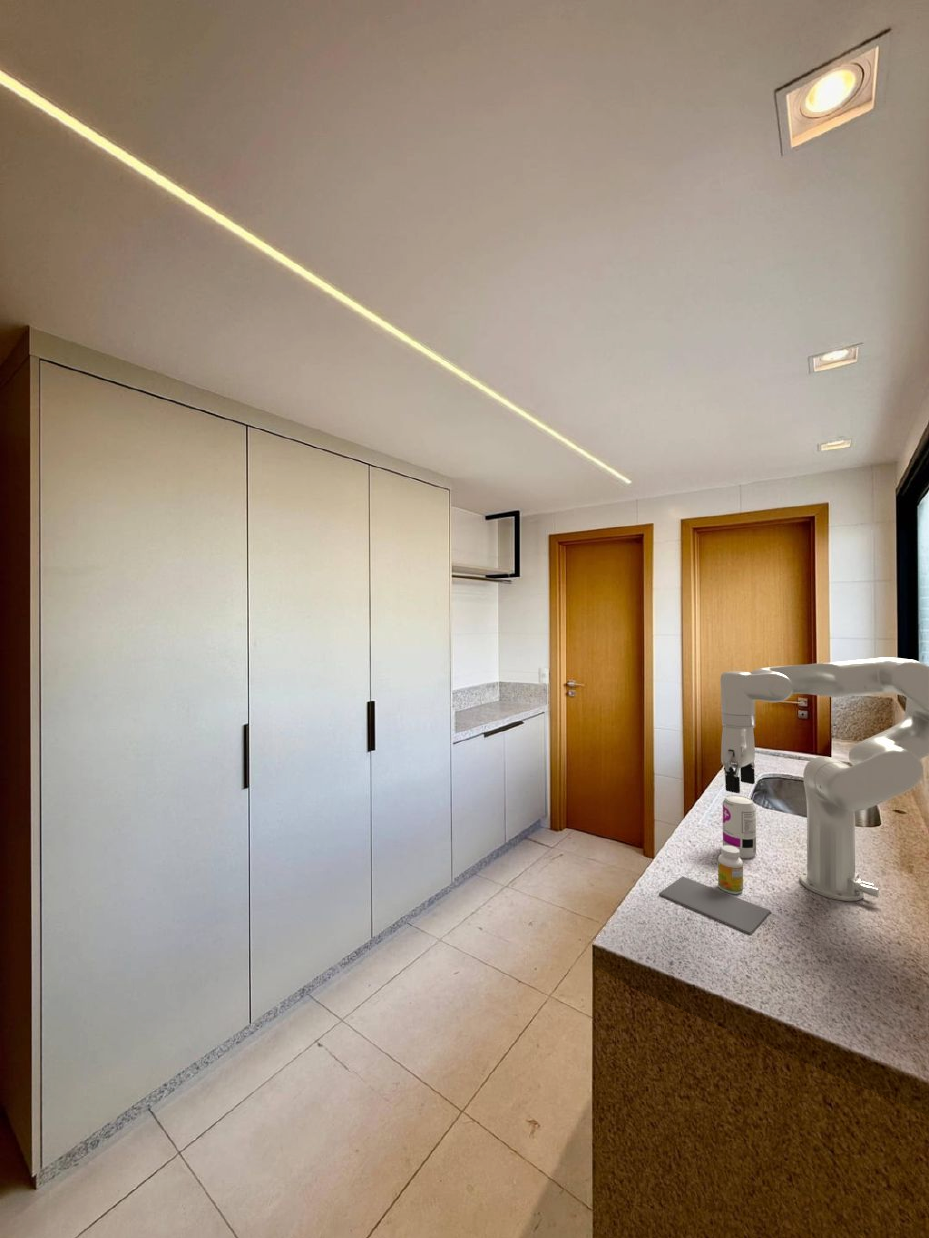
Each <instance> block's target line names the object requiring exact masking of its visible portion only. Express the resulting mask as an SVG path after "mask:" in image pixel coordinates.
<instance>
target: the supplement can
mask: <svg viewBox="0 0 929 1238" xmlns="http://www.w3.org/2000/svg"><path fill="white" fill-rule="evenodd" d="M725 845H728V846H733V847H736V848H738V849H739V850H740V857H739V858H740V859H752V858H753V857H754V856H756V855H757V807H756V805H755V803H754V801H753V799H751V798H750V797H747V796H743V795H736V794H732V795H731V794H729V795H726V796H725V797H724V799H723V801H722V846H725Z"/></svg>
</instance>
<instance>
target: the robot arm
mask: <svg viewBox="0 0 929 1238" xmlns="http://www.w3.org/2000/svg"><path fill="white" fill-rule="evenodd" d="M719 678H720V679H719V680H720V702H721V703H720V704H721V705H720V706H721V707H720V708H721V709H720V711H721V725H722V733H721V743H720V744H721V745H720V746H721V747H720V748H721V749H720V751H721V752H720V753H721V754H720V763H721V764H722V765H723V771H724V773H723V774H724V778H725V779H724V781H725V786H724V787H725V791H727V792H728V793H729V792H730V793H734V794H740V793H741V783H744V784H749V785H750V784H751V785H755V783H756V779H755V768H756V767H755V762H754V761H755V760H756V759H755V757H756V755H755V754H756V751H755V750H756V748H755V736H754V735H755V734H754V728H756V711H755V709H756V704H755V703H756V702H755V701H759V702H760V701H762V702H767V703H780V702H785V701H786V700H789V699H790V698H791V696H792V695H794V694H795V695H796V694H797V695H798V694H800V695H801V694H802V695H804V694H805V695H813V696H820V697H828V698H830V697H831V698H843V697H845V698H846V697H854V696H864V695H865V696H866V695H877V694H878V695H879V694H895V695H900V696H903V697H905V698H906V701H905V702H906V703H905V711H904V714H903V715H904V716H903V717H902V719H901V720H900V721H899V722H897V723H896V724H895V725H893V726H891V727H890V728H889V727H888V728H887V729H885V730H883V731H881V732H879V733H876V734H874V735H872V736H871V737H868V738H866V739H864V740H861V741H859V742H857V743H856V744H854V745H853V746H852V747H851V748H850V750H849V752H848V760H849V762H850V764H851V766H850V765H849V764H847V763H845V762H843V761H841V760H839V759H836V758H834V757H829V756H817V757H815V758H812V759H811V760H809V761H808V762H807V764H806V765H805V766H804V769H803V774H802V777H803V780H802V781H803V786H804V792H805V798H806V799H805V800H806V870H804V871H802V872H801V873H799V881H800V883H801V884H802V885H803V886H804V887H805V888H806V889H808V890H810V891H811V892H813V893H815V894H817V895H820V896H823V897H825V898H829V899H834V900H837V901H842V902H843V901H844V902H855V901H860V900H862V899H863V898H864V895H865V894H866V895H869V896H871V897H875V898H879V895H880V894H879V893H880V889H879V888H876V887H875V884H874V883H871V882H868V881H865V880H862V879H861V878H860V873H859V872H856V816H855V812H860V811H861V812H862V811H865V810H867V809H870V808H872V807H875V806H878V805H880V804H882V803H884V802H888V801H890V800H891V799H894V798H896V797H899V796H901V795H903V794H905V793H908V792H909V791H911V790H913V789H914V788H915V787H916V786H918V785H919V783H920V782H921V780H922V778H923V776H924V767H923V763H922V761H921V760H922V759H924V758H926V757H928V756H929V665H927V664H925V663H923V662H920V661H918V660H915V659H908V658H901V657H892V656H891V657H888V656H886V657H874V658H873V657H872V658H865V659H862V658H861V659H854V660H853V659H852V660H845V661H832V662H831V661H830V662H819V663H809V664H794V665H792V664H791V665H782V666H781V665H780V666H771V667H760V668H756V669H753V671H751V672H748V671H740V670H739V671H738V670H737V671H735V670H734V671H733V670H731V671H724V672H722V673H721V674H720V677H719ZM739 773H740V776H739ZM740 782H741V783H740Z"/></svg>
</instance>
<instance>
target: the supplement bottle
mask: <svg viewBox="0 0 929 1238" xmlns="http://www.w3.org/2000/svg"><path fill="white" fill-rule="evenodd" d="M720 850H721V851H720V853H721V854H719V856H718V857H717V858H718V859H717V868H718V869H717V871H718V873H717V876H718V877H717V878H718V881H717V882H718V883H717V885H718V887H719V889H720V890H721V891H722V892H724V893H727V894H730V895H739V894H741V893H743V891H744V863H743V860H742V858H739V857H740V850H739V849H738V848H736V847H733V846H728V845H725V846H723V845H721V849H720Z"/></svg>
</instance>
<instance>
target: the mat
mask: <svg viewBox="0 0 929 1238" xmlns="http://www.w3.org/2000/svg"><path fill="white" fill-rule="evenodd" d="M658 895H659V896H661V898H662V897H663V898H664V899H667V900H669V901H672V902H674V903H676V904H678V905H680V906H683V907H685V908H688V909H691V910H693V911H694V912H697V913H698V914H702V915H703V916H707V917H708V918H710V919H713V920H716V921H718V922H720V923H722V924H724V925H727V926H729V927H731V928H734V929H735V930H737V931H740V932H742V933H745V934H747V935H749V936H751V935H752V934H754V932H755V931H756V930H757V929H758V928H759V926H761V924H762V923H763V922H764V921H765V920H766V919H767V918H768V917H769V915H770V914H771V912H772V911H771V910H770V909H767V908H765V907H762V906H760V905H757V904H754V903H753V902H750V901H747V900H744V899H742V898H739V897H737V896H734V895H733V894H730V893H728V892H725V891H723V890H719V889H716V888H714V887H712V886H709V885H707V884H704V883H701V882H698V881H696V880H693V879H691V878H688V877H686V876H683V875H682V876H681V877H679V878H677V880H676V881H674V882H672V883H671V884H669V885H668V886H667V887H666V888H664V889H663V890H661V891H660V892H659V894H658Z"/></svg>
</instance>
